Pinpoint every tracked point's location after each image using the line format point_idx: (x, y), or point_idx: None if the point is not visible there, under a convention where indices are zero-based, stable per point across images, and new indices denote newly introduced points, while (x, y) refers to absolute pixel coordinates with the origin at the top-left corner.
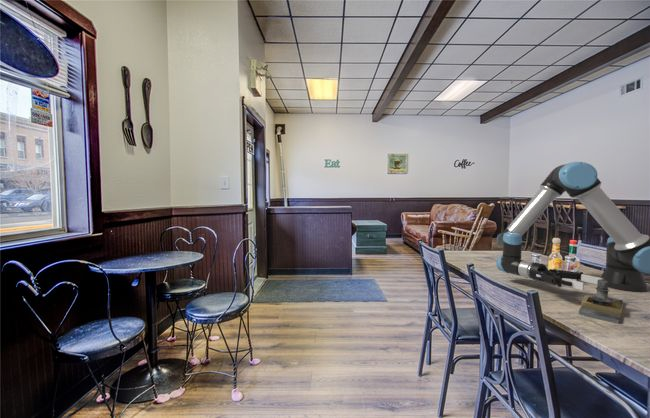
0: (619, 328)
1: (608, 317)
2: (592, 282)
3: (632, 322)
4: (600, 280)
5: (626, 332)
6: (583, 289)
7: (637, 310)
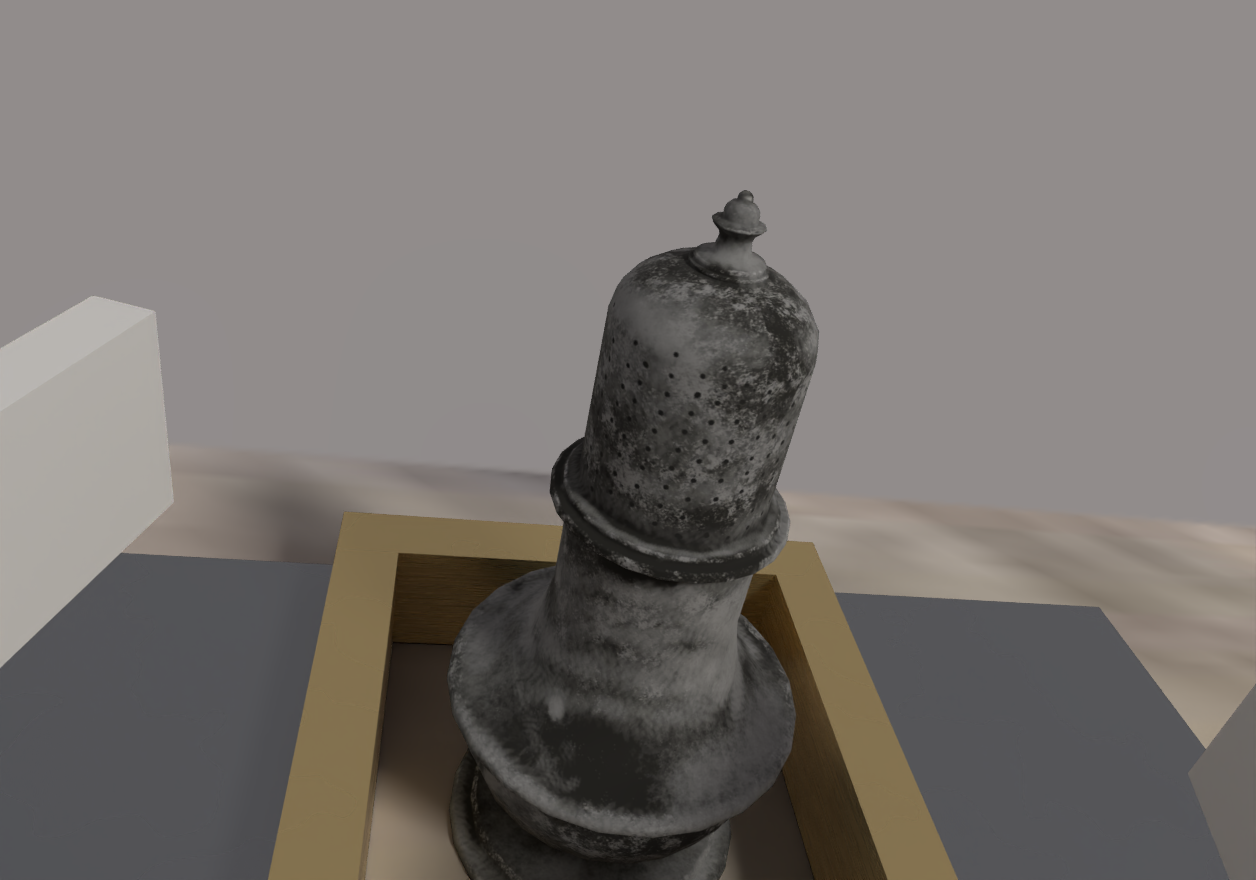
0: (1214, 638)
1: (1137, 680)
2: (13, 627)
3: (861, 554)
4: (800, 312)
5: (1243, 601)
6: (1202, 767)
7: (262, 491)
